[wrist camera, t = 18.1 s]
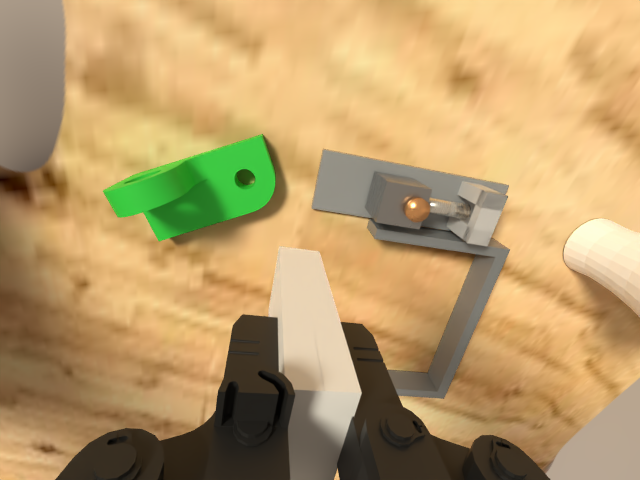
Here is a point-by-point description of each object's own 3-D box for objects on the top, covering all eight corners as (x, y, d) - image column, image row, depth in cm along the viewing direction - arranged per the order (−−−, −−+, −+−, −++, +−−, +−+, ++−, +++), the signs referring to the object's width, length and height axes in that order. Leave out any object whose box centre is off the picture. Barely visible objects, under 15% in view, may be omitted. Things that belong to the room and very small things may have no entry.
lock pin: (364, 207, 32) (378, 225, 28) (374, 171, 31) (390, 183, 27) (449, 221, 34) (475, 241, 29) (461, 187, 33) (491, 202, 28)
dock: (279, 367, 40) (279, 401, 36) (323, 149, 31) (329, 157, 26) (433, 379, 43) (451, 411, 39) (514, 186, 34) (549, 199, 30)
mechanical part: (165, 233, 32) (131, 272, 25) (135, 174, 30) (87, 198, 23) (284, 196, 32) (284, 224, 25) (262, 133, 30) (256, 145, 23)
